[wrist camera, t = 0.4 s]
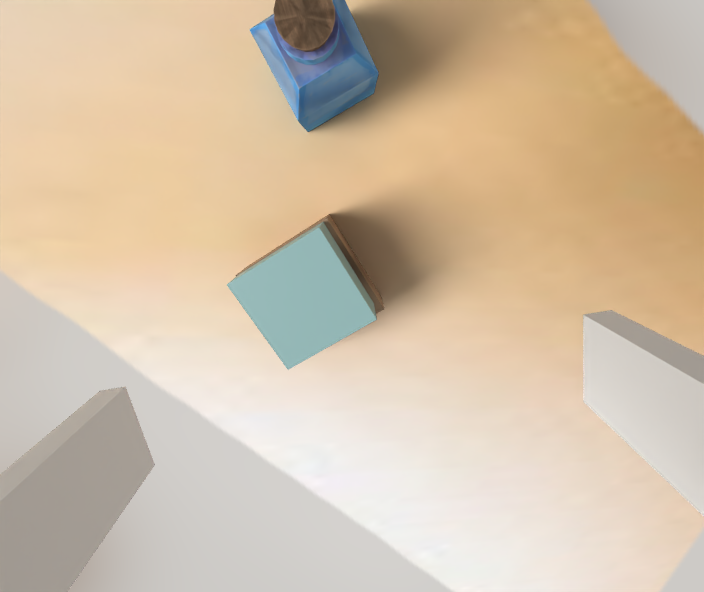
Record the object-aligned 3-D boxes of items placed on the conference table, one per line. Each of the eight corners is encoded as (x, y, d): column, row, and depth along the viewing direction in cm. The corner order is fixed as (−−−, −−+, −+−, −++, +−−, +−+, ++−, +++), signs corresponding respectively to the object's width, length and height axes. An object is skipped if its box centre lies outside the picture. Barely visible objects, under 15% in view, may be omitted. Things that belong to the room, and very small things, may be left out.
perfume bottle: (373, 93, 32) (385, 43, 20) (308, 132, 33) (283, 104, 21) (337, 16, 30) (327, -86, 19) (269, 58, 31) (220, -14, 20)
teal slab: (241, 272, 32) (226, 284, 29) (323, 221, 31) (318, 227, 27) (295, 348, 34) (287, 369, 30) (373, 303, 33) (376, 319, 29)
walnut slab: (248, 265, 36) (235, 275, 32) (329, 213, 35) (326, 217, 31) (302, 342, 38) (296, 360, 35) (380, 296, 37) (384, 309, 33)
